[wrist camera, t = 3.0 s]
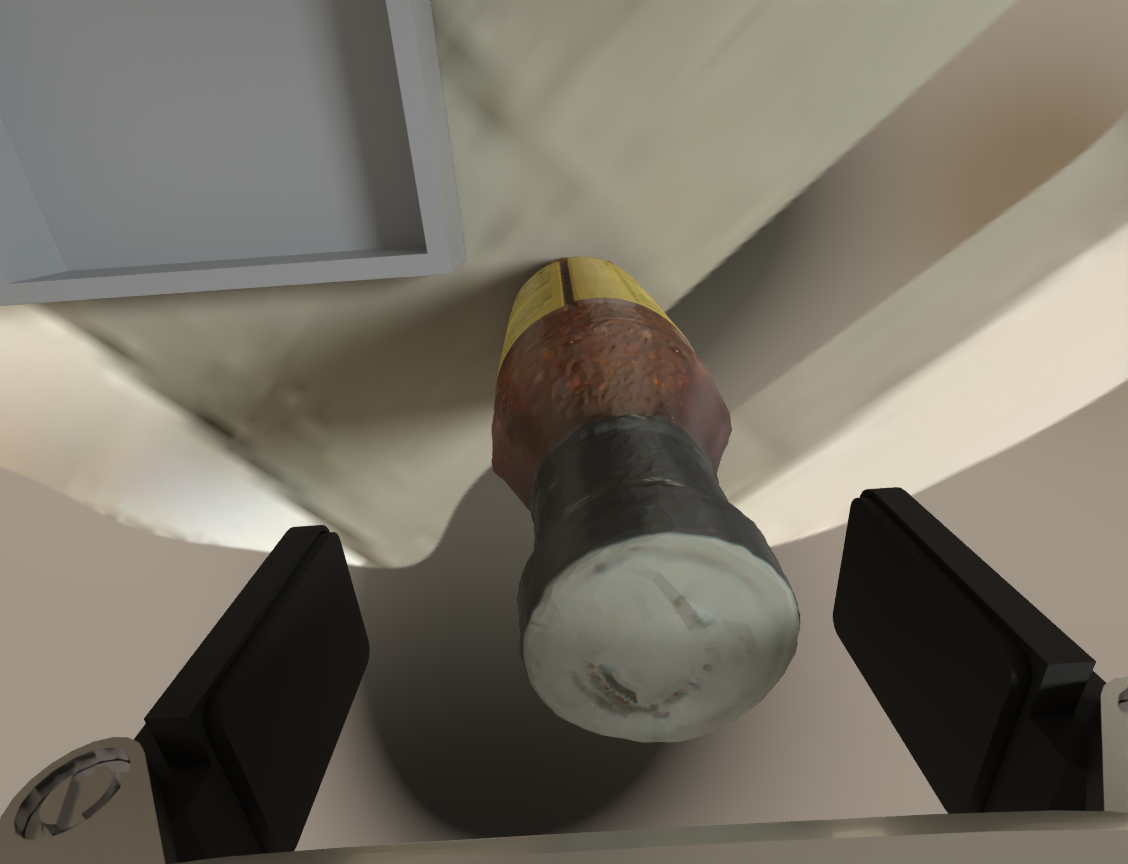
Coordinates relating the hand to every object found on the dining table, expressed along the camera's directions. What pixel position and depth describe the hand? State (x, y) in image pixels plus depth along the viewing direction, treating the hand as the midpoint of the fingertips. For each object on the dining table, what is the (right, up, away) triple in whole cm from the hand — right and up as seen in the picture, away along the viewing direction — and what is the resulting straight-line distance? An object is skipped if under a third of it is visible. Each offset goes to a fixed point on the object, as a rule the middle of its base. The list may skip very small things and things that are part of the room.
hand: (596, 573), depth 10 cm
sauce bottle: (0, +8, +16) cm, 18 cm away
